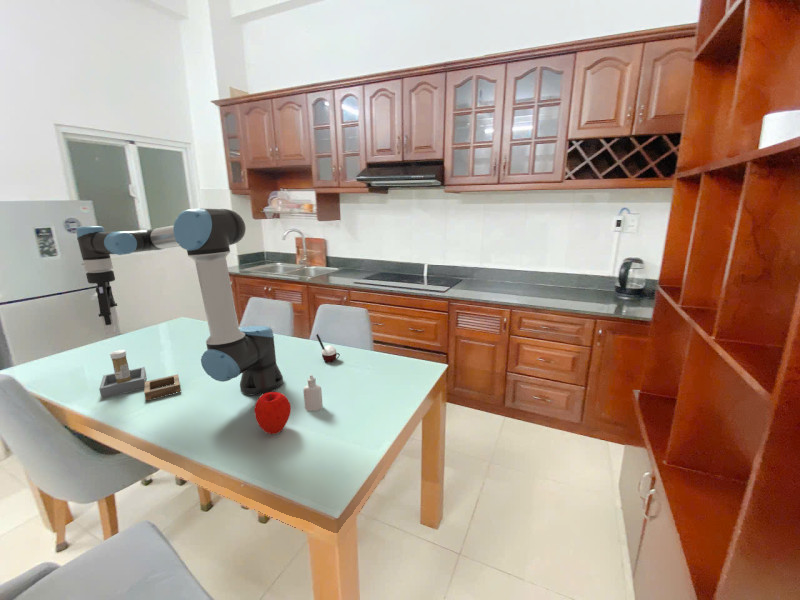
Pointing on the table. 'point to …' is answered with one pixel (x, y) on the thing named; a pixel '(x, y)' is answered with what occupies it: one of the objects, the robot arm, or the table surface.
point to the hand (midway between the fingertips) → (112, 328)
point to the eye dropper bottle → (312, 395)
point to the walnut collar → (163, 390)
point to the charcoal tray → (112, 388)
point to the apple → (272, 412)
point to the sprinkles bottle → (120, 366)
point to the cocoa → (328, 352)
